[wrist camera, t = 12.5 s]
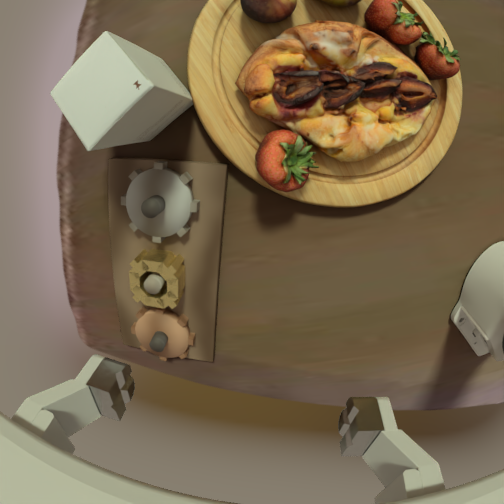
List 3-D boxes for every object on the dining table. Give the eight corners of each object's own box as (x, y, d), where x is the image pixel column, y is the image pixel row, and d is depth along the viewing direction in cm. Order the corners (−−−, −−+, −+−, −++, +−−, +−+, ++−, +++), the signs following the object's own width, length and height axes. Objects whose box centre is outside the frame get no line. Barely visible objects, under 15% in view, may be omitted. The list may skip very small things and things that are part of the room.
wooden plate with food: (328, 258, 35) (344, 292, 28) (135, 74, 28) (100, 61, 20) (488, 102, 26) (528, 103, 18) (323, -71, 18) (334, -105, 11)
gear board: (228, 164, 32) (221, 169, 27) (214, 355, 42) (208, 379, 37) (114, 157, 32) (92, 162, 27) (127, 338, 42) (114, 359, 38)
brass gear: (185, 253, 34) (178, 264, 31) (185, 297, 37) (178, 311, 34) (138, 246, 34) (127, 257, 31) (141, 289, 37) (131, 302, 34)
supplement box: (162, 57, 27) (107, 26, 15) (198, 102, 29) (156, 87, 17) (115, 98, 29) (47, 92, 17) (148, 143, 31) (87, 154, 19)
